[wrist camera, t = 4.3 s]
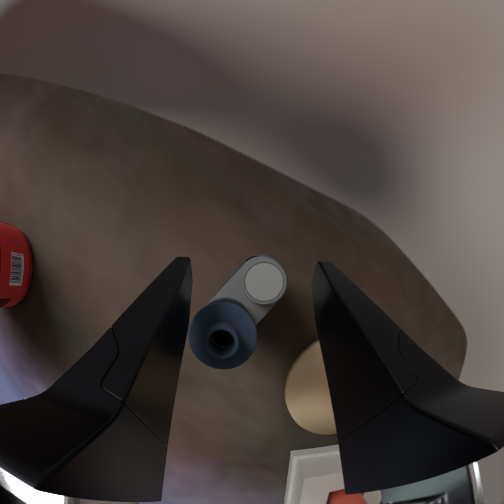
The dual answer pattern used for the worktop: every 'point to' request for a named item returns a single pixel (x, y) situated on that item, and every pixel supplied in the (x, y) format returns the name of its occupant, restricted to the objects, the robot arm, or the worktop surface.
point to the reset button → (345, 498)
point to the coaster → (310, 392)
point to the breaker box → (317, 476)
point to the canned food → (14, 265)
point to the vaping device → (237, 313)
